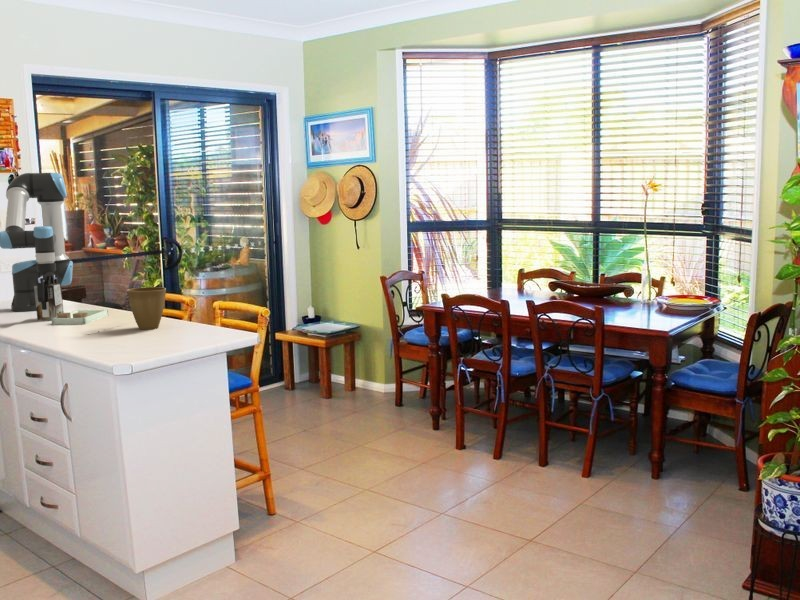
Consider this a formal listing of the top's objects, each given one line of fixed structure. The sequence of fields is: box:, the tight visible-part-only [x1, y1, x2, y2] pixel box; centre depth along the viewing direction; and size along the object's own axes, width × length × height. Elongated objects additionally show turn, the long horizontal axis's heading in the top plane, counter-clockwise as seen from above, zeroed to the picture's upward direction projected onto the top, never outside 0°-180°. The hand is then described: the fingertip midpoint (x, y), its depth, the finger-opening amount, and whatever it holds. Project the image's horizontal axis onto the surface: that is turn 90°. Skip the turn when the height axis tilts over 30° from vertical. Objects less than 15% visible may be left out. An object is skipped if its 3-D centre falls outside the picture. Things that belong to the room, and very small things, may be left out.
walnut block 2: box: [73, 312, 88, 318], centre depth 316 cm, size 4×4×4 cm
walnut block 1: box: [57, 312, 71, 318], centre depth 316 cm, size 4×4×4 cm
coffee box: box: [34, 284, 65, 321], centre depth 326 cm, size 9×6×16 cm
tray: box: [51, 309, 109, 326], centre depth 323 cm, size 22×14×4 cm, turn 177°
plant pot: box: [126, 286, 167, 330], centre depth 305 cm, size 15×15×16 cm
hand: (50, 315), depth 327 cm, fingers closed on coffee box, 6 cm apart
